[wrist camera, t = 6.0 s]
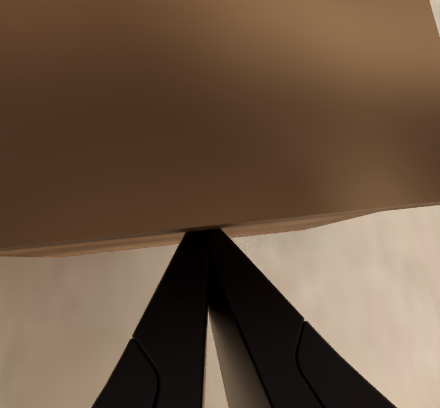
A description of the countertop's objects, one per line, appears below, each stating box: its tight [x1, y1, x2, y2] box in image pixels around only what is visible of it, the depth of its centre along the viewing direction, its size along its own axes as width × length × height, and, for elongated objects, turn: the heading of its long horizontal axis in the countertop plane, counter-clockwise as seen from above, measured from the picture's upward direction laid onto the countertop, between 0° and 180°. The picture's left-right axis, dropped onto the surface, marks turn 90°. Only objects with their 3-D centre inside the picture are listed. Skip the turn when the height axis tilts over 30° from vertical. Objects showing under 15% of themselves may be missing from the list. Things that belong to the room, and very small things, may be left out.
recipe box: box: [0, 0, 440, 257], centre depth 11 cm, size 16×12×9 cm
